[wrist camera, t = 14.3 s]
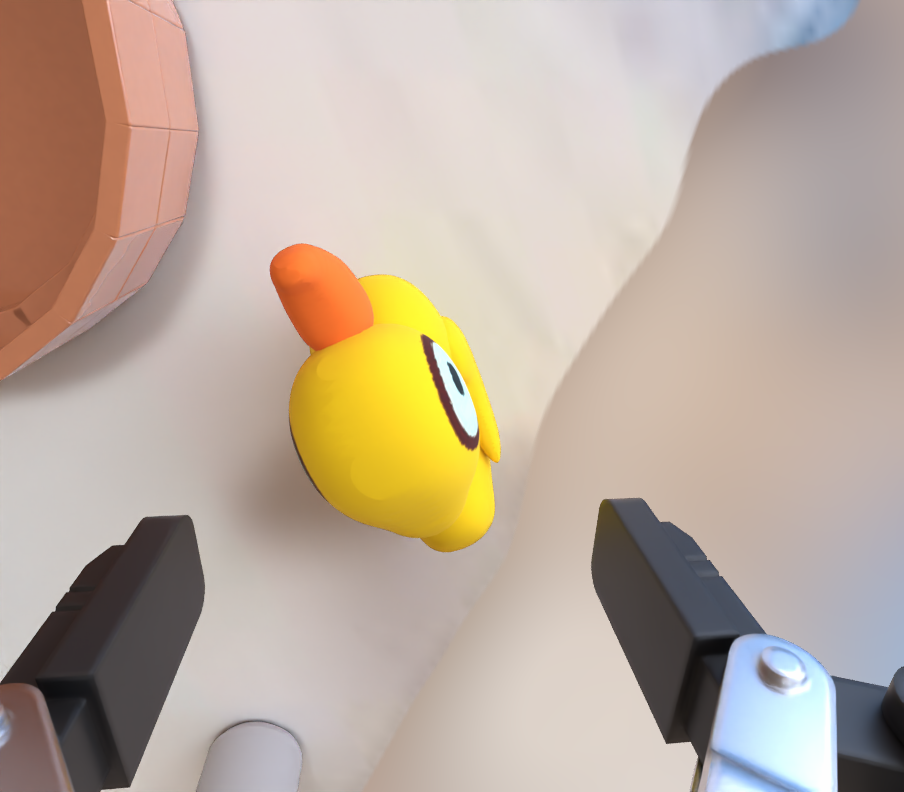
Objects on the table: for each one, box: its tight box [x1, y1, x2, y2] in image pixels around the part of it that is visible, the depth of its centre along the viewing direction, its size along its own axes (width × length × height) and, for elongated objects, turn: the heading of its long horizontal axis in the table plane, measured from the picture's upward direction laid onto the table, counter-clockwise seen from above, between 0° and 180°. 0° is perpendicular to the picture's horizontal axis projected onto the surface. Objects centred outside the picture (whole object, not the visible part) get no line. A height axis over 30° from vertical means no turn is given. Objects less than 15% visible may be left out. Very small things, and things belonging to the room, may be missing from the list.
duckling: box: [270, 244, 501, 552], centre depth 17 cm, size 11×5×10 cm, turn 23°
